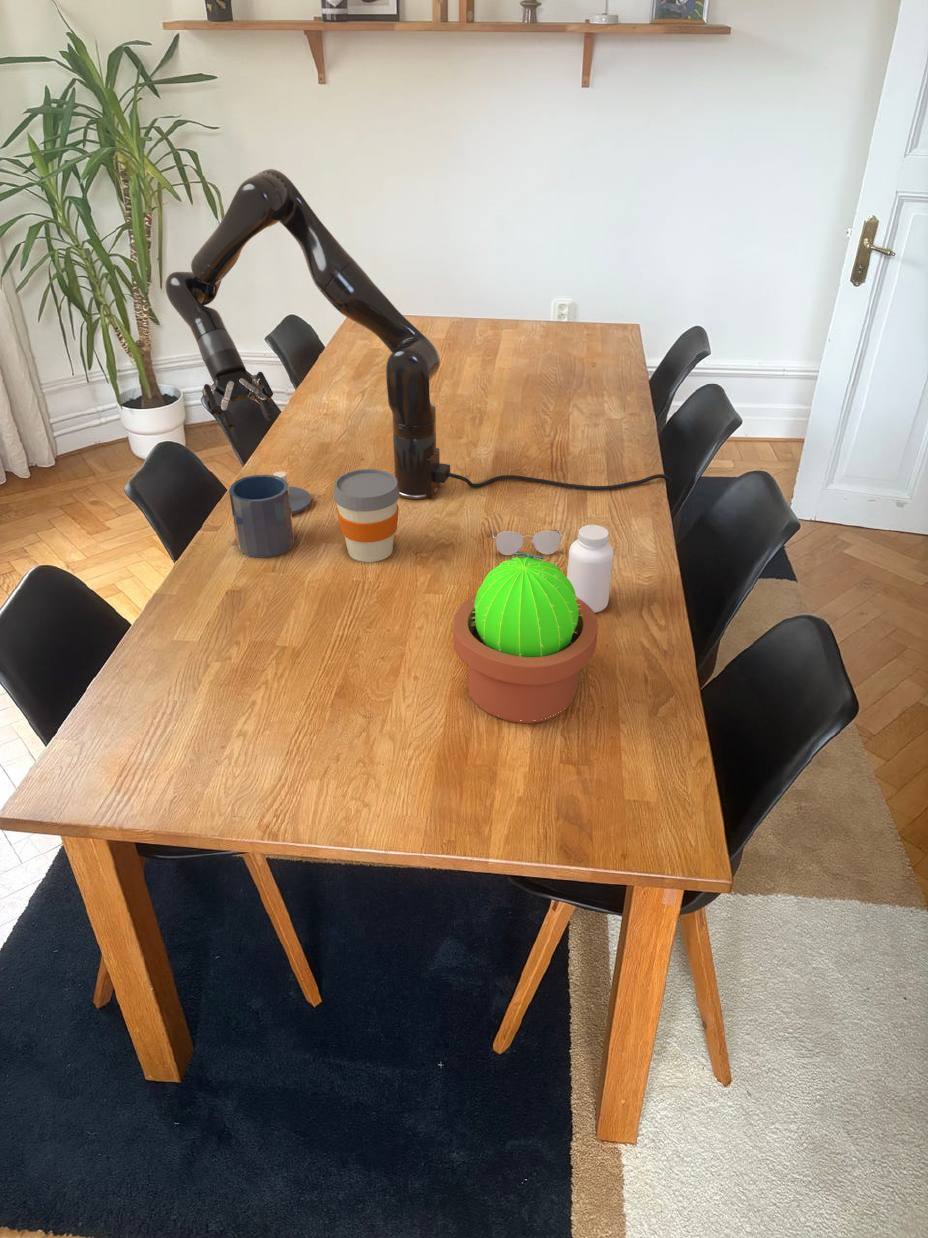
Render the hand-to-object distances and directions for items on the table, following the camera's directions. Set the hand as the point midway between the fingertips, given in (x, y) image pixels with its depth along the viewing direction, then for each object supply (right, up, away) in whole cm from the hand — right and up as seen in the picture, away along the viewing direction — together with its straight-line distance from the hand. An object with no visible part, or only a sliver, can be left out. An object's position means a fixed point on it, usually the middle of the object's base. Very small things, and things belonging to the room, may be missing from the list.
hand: (251, 423), depth 204 cm
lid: (+7, -17, +1) cm, 18 cm away
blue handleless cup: (+6, -27, -12) cm, 30 cm away
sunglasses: (+58, -27, -12) cm, 65 cm away
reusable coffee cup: (+27, -29, -14) cm, 42 cm away
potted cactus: (+55, -54, -50) cm, 92 cm away
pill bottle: (+69, -39, -29) cm, 84 cm away
